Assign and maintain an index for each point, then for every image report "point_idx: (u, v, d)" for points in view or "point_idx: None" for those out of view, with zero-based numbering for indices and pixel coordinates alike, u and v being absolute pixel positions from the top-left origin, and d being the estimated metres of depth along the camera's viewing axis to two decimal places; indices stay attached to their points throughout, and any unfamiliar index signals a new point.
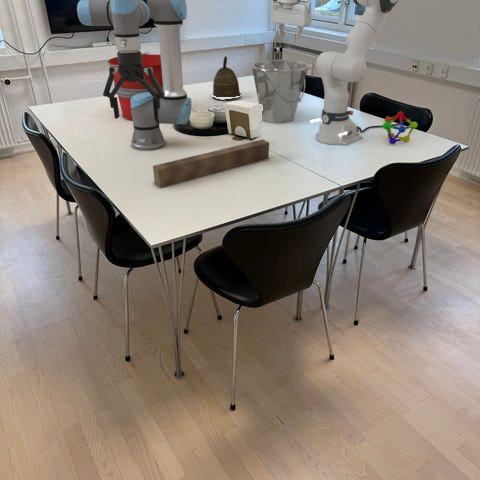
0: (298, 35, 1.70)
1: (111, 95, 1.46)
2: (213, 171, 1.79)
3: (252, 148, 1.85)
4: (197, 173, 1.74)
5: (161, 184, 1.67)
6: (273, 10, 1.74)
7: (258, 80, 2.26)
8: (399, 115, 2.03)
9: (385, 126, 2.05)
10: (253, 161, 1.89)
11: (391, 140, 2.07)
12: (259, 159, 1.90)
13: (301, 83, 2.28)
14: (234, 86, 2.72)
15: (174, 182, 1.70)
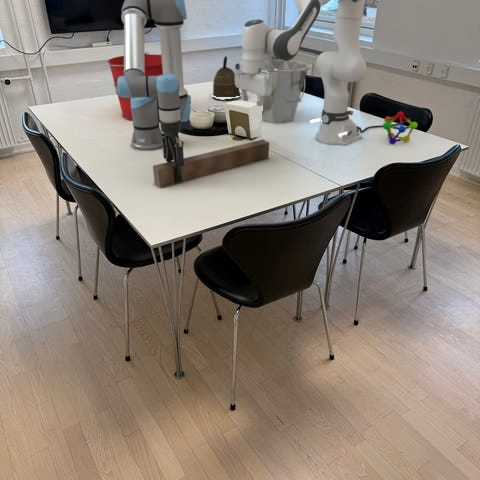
0: (260, 102, 1.73)
1: None
2: (213, 171, 1.79)
3: (252, 148, 1.85)
4: (197, 172, 1.74)
5: (161, 184, 1.67)
6: (236, 77, 1.78)
7: None
8: (399, 115, 2.03)
9: (385, 126, 2.05)
10: (253, 161, 1.89)
11: (391, 140, 2.07)
12: (259, 159, 1.90)
13: (301, 83, 2.28)
14: (234, 86, 2.72)
15: (174, 182, 1.70)
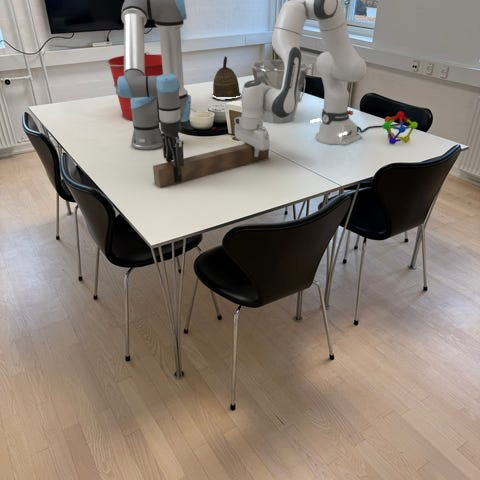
0: (256, 154, 1.86)
1: None
2: (213, 171, 1.79)
3: (252, 148, 1.85)
4: (197, 172, 1.74)
5: (161, 184, 1.67)
6: (236, 129, 1.89)
7: None
8: (399, 115, 2.03)
9: (385, 126, 2.05)
10: (253, 161, 1.89)
11: (391, 140, 2.07)
12: (259, 159, 1.90)
13: (301, 83, 2.28)
14: (234, 86, 2.72)
15: (174, 182, 1.70)
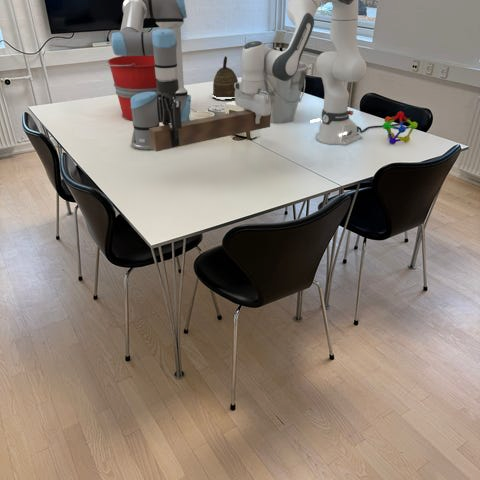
0: (257, 120, 1.78)
1: None
2: (212, 137, 1.71)
3: (253, 114, 1.78)
4: (195, 137, 1.67)
5: (157, 147, 1.60)
6: (236, 95, 1.82)
7: None
8: (399, 115, 2.03)
9: (385, 126, 2.05)
10: (254, 128, 1.81)
11: (391, 140, 2.07)
12: (260, 127, 1.83)
13: (301, 83, 2.28)
14: None
15: (171, 146, 1.63)
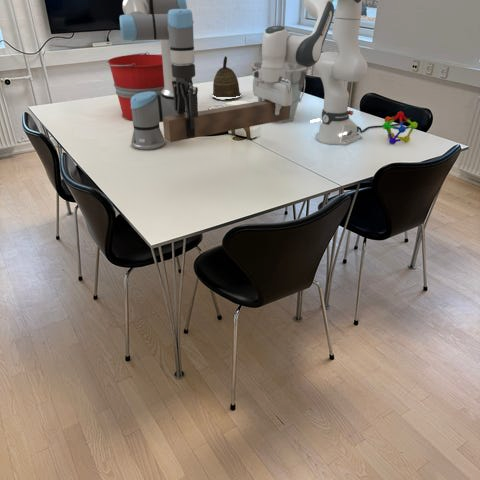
0: (277, 111, 1.67)
1: None
2: (229, 128, 1.60)
3: (272, 105, 1.66)
4: (212, 128, 1.55)
5: (172, 138, 1.48)
6: (255, 85, 1.70)
7: None
8: (399, 115, 2.03)
9: (385, 126, 2.05)
10: (273, 120, 1.70)
11: (391, 140, 2.07)
12: (280, 119, 1.71)
13: (301, 83, 2.28)
14: (234, 86, 2.72)
15: (186, 137, 1.51)
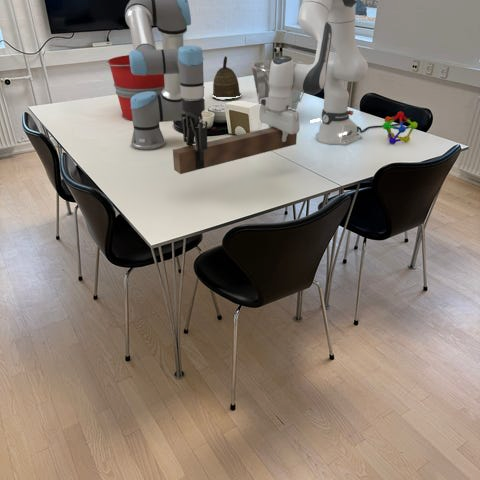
0: (284, 138, 1.69)
1: None
2: (237, 157, 1.62)
3: (279, 132, 1.69)
4: (221, 158, 1.58)
5: (182, 170, 1.50)
6: (262, 112, 1.73)
7: (258, 80, 2.26)
8: (399, 115, 2.03)
9: (385, 126, 2.05)
10: (280, 147, 1.72)
11: (391, 140, 2.07)
12: (286, 145, 1.74)
13: None
14: (234, 86, 2.72)
15: None
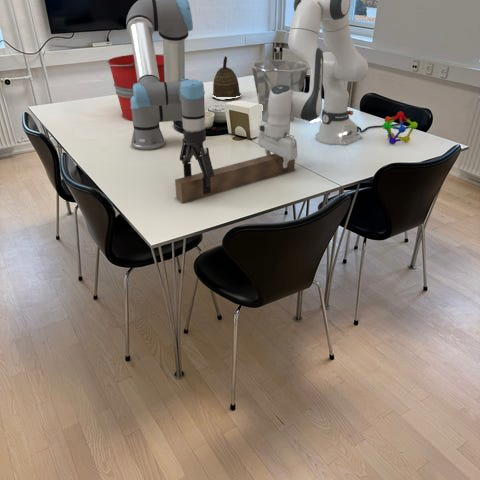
0: (285, 164, 1.73)
1: None
2: (237, 184, 1.68)
3: (278, 159, 1.74)
4: (221, 186, 1.64)
5: (184, 199, 1.56)
6: (261, 137, 1.78)
7: (258, 80, 2.26)
8: (399, 115, 2.03)
9: (385, 126, 2.05)
10: (278, 173, 1.78)
11: (391, 140, 2.07)
12: (285, 171, 1.80)
13: (301, 83, 2.28)
14: (234, 86, 2.72)
15: (197, 197, 1.59)
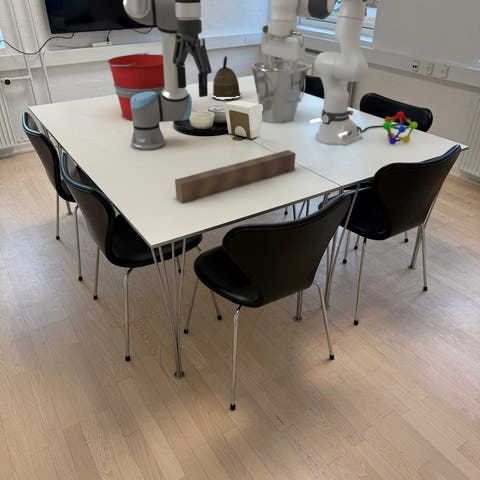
0: (291, 70, 1.55)
1: None
2: (237, 184, 1.68)
3: (278, 159, 1.74)
4: (221, 186, 1.64)
5: (184, 199, 1.56)
6: (263, 41, 1.59)
7: (258, 80, 2.26)
8: (399, 115, 2.03)
9: (385, 126, 2.05)
10: (278, 173, 1.78)
11: (391, 140, 2.07)
12: (285, 171, 1.80)
13: (301, 83, 2.28)
14: (234, 86, 2.72)
15: (197, 197, 1.59)
